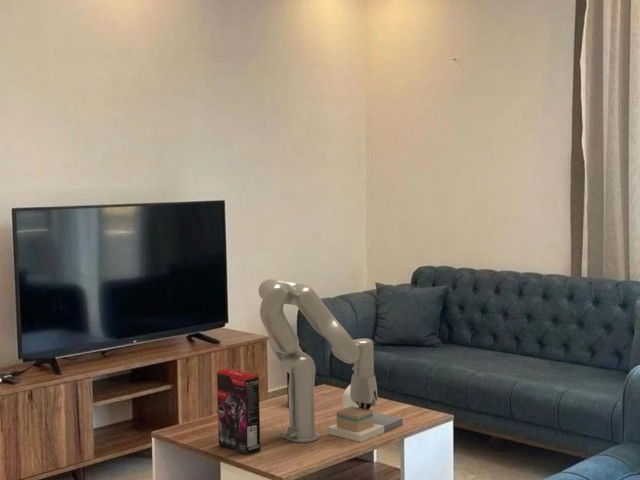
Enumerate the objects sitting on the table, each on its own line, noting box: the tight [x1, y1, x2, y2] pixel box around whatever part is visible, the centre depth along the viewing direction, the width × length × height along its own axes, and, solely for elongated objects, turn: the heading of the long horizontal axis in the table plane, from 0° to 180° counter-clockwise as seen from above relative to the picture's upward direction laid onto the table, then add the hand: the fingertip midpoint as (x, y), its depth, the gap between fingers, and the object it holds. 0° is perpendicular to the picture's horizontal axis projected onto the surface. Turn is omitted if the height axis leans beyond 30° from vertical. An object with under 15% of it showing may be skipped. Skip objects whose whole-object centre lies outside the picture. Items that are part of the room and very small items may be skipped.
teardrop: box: [342, 383, 359, 409], centre depth 334 cm, size 11×11×12 cm
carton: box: [336, 406, 374, 432], centre depth 298 cm, size 9×10×6 cm
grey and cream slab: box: [326, 411, 404, 443], centre depth 303 cm, size 26×16×2 cm, turn 139°
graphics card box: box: [216, 368, 261, 455], centre depth 283 cm, size 17×7×27 cm, turn 45°
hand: (364, 419), depth 302 cm, fingers closed
